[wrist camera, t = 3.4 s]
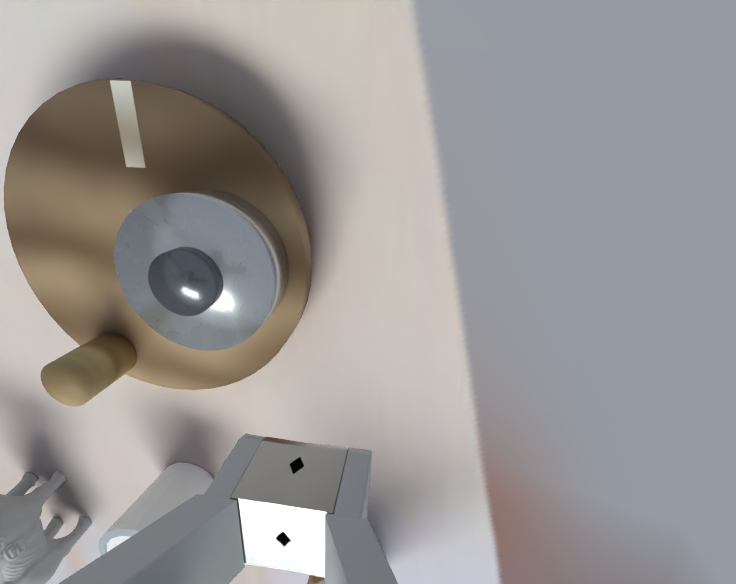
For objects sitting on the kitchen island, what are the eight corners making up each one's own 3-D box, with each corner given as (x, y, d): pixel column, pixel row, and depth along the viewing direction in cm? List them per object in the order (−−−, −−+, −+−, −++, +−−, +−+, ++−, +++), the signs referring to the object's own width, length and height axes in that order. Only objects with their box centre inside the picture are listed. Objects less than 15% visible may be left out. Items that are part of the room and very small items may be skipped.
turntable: (-12, 80, 21) (-151, 54, 16) (309, 89, 19) (272, 63, 14) (73, 363, 28) (-4, 409, 23) (313, 390, 26) (290, 446, 21)
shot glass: (167, 446, 33) (106, 517, 26) (233, 478, 33) (189, 555, 27) (149, 489, 35) (90, 564, 29) (211, 519, 36) (166, 599, 29)
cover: (139, 185, 21) (80, 190, 17) (286, 193, 20) (257, 201, 16) (164, 321, 24) (119, 351, 20) (291, 334, 23) (268, 367, 19)
